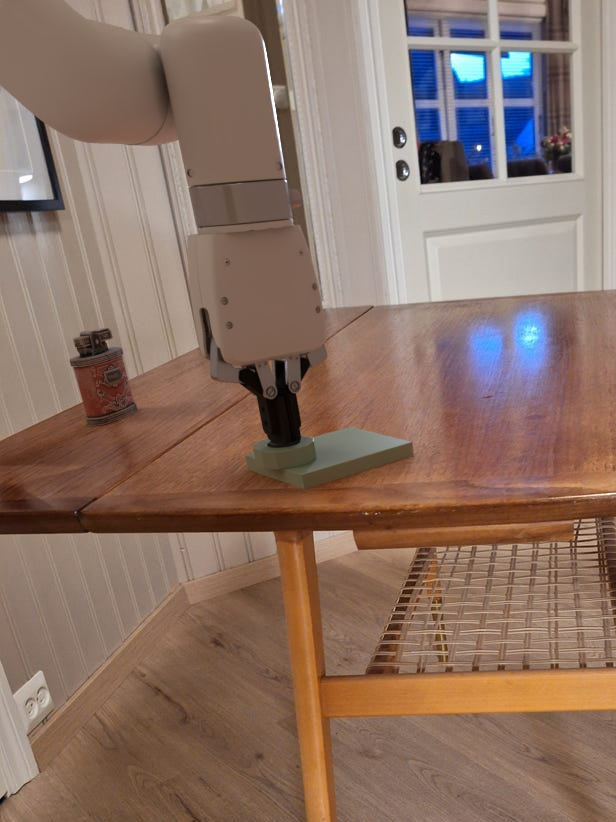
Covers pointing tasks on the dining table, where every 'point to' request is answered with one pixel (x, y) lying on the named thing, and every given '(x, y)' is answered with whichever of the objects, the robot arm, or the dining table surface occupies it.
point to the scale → (327, 456)
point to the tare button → (280, 445)
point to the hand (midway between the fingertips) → (284, 439)
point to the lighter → (102, 378)
